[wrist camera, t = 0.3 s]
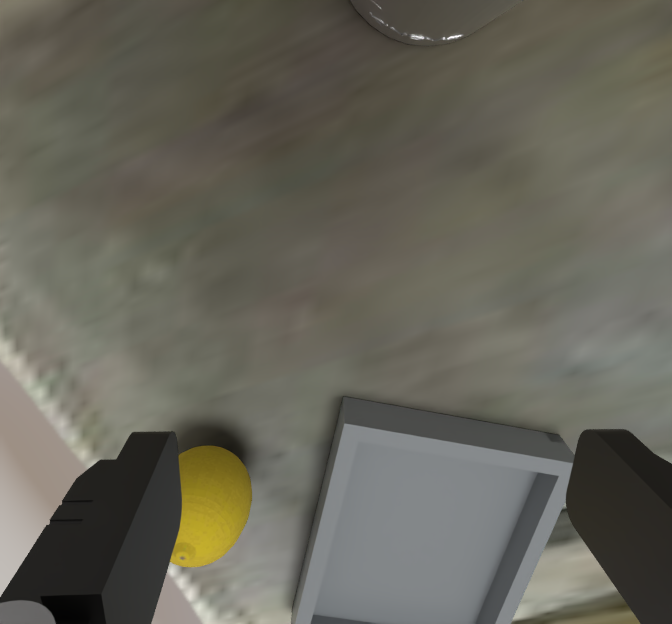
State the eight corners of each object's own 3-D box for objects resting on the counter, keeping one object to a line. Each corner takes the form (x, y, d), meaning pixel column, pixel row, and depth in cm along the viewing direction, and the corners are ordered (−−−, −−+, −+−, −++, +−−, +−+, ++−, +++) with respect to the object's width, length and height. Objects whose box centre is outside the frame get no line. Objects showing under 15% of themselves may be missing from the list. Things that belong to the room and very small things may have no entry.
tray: (343, 396, 31) (344, 423, 28) (559, 435, 32) (581, 464, 29) (292, 609, 37) (288, 649, 34) (475, 635, 38) (486, 676, 35)
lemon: (165, 480, 33) (115, 584, 25) (184, 410, 31) (137, 500, 23) (247, 502, 33) (222, 610, 26) (270, 434, 32) (251, 530, 24)
